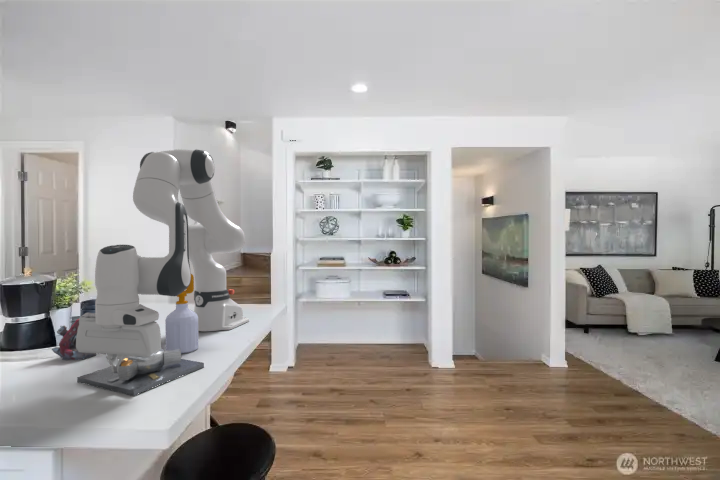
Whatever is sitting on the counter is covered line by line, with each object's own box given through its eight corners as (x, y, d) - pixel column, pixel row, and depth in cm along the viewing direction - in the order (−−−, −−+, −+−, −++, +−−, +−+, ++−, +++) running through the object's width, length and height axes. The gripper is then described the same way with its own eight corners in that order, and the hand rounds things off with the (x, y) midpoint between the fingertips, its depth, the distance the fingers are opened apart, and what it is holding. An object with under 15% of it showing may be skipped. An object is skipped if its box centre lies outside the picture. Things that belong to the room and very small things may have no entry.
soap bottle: (161, 350, 119) (160, 270, 119) (190, 343, 126) (190, 267, 125) (173, 356, 113) (172, 272, 113) (203, 349, 120) (202, 269, 119)
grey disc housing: (125, 361, 104) (125, 346, 104) (184, 361, 104) (183, 346, 104) (89, 380, 90) (89, 363, 90) (157, 380, 90) (156, 363, 90)
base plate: (151, 357, 112) (151, 352, 112) (203, 367, 104) (203, 362, 104) (77, 382, 94) (77, 376, 94) (133, 396, 86) (133, 389, 86)
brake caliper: (77, 356, 106) (57, 319, 108) (55, 376, 109) (36, 340, 111) (115, 344, 117) (96, 311, 119) (93, 363, 120) (75, 331, 122)
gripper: (67, 314, 90) (68, 374, 91) (146, 318, 87) (146, 380, 87) (91, 309, 97) (91, 365, 97) (165, 313, 93) (165, 370, 93)
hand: (118, 372), depth 92 cm, fingers closed
